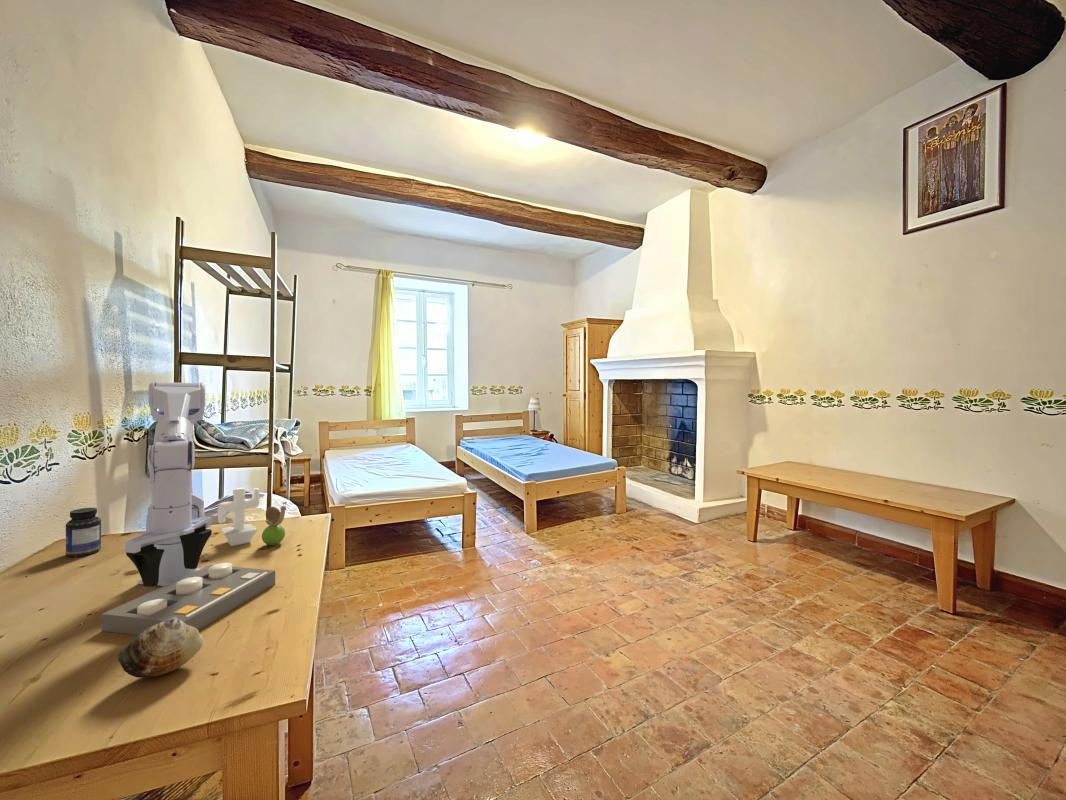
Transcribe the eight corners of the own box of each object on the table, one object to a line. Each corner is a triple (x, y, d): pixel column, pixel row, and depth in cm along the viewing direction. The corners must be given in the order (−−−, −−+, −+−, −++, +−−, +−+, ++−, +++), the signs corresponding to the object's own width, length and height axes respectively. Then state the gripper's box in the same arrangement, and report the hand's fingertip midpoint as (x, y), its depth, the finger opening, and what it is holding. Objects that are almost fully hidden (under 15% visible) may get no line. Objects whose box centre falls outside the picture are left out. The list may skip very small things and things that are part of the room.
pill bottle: (69, 551, 107) (69, 508, 106) (103, 546, 110) (103, 505, 110) (62, 559, 102) (62, 514, 102) (97, 554, 105) (97, 510, 105)
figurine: (215, 542, 115) (216, 488, 115) (256, 534, 122) (256, 483, 121) (220, 550, 110) (220, 493, 109) (262, 541, 116) (262, 487, 116)
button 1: (130, 625, 74) (130, 608, 74) (154, 613, 78) (154, 597, 78) (150, 627, 73) (150, 610, 73) (173, 615, 77) (173, 599, 77)
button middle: (170, 600, 81) (170, 585, 81) (190, 590, 85) (190, 576, 85) (188, 602, 80) (188, 586, 80) (207, 592, 84) (207, 577, 84)
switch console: (101, 630, 73) (101, 612, 73) (210, 578, 94) (210, 563, 94) (182, 640, 71) (182, 621, 71) (275, 584, 91) (275, 569, 91)
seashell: (202, 651, 68) (202, 602, 68) (203, 670, 63) (204, 618, 63) (120, 676, 62) (120, 623, 62) (115, 698, 57) (115, 641, 57)
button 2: (203, 584, 88) (203, 569, 88) (220, 575, 92) (220, 562, 92) (220, 585, 87) (220, 571, 87) (236, 577, 91) (236, 563, 91)
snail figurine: (277, 549, 111) (277, 504, 111) (256, 547, 112) (256, 502, 112) (292, 542, 116) (293, 499, 116) (273, 540, 117) (273, 497, 117)
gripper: (150, 517, 71) (149, 597, 71) (224, 496, 85) (224, 562, 85) (114, 515, 72) (114, 593, 72) (194, 494, 86) (193, 560, 86)
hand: (171, 576), depth 79 cm, fingers open, 7 cm apart
